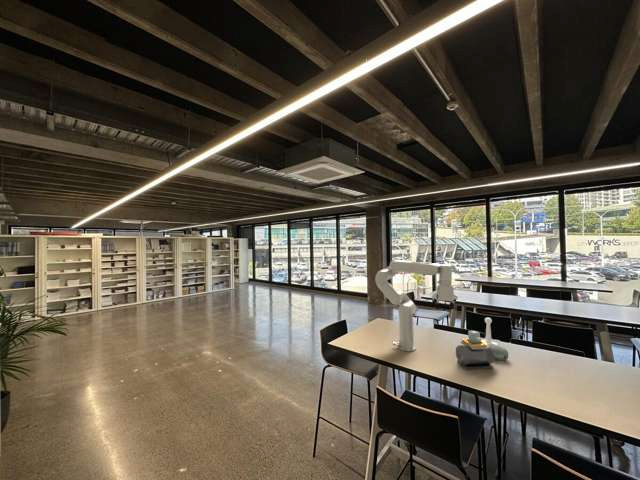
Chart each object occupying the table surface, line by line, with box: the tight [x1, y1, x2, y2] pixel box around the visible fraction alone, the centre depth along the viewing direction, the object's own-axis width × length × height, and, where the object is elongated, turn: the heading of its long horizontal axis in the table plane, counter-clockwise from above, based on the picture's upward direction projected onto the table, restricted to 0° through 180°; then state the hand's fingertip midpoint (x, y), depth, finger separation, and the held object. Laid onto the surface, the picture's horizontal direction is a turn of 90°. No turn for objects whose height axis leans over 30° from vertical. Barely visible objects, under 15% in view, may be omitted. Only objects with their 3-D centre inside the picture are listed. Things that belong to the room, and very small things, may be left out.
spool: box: [488, 345, 509, 361], centre depth 170 cm, size 14×10×10 cm
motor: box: [455, 338, 495, 371], centre depth 160 cm, size 19×11×14 cm, turn 95°
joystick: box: [482, 317, 499, 346], centre depth 192 cm, size 11×8×20 cm
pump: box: [467, 330, 483, 344], centre depth 159 cm, size 6×9×7 cm
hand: (444, 308), depth 175 cm, fingers open, 9 cm apart
